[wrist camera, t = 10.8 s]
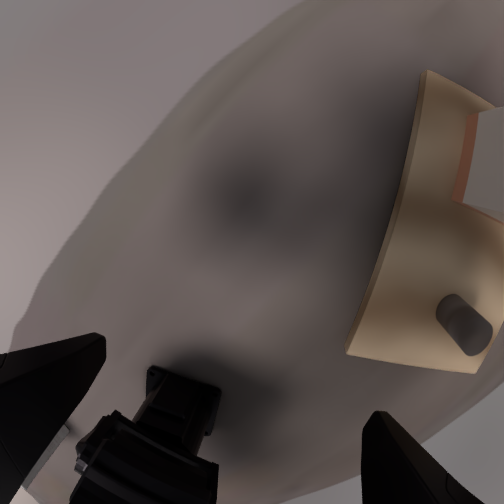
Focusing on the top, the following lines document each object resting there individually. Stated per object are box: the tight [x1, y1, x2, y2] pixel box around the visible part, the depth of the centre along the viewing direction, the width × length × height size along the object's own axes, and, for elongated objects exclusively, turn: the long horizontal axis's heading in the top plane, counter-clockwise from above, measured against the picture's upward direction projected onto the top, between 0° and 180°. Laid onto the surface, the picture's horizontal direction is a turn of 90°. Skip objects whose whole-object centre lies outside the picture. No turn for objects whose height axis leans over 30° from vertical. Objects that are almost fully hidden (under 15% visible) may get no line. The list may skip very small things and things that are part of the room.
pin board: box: [344, 69, 504, 374], centre depth 15 cm, size 20×13×6 cm, turn 167°
